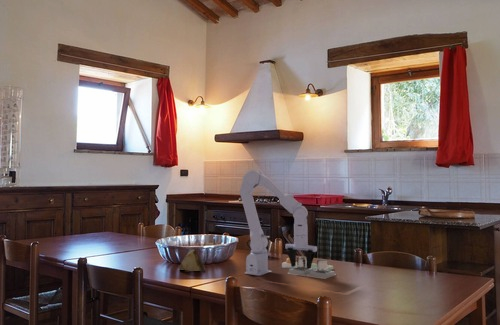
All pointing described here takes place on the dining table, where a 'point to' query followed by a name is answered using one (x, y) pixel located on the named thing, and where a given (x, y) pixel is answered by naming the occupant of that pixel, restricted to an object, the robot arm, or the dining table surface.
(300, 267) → the cylinder
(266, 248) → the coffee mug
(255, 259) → the robot arm
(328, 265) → the tray
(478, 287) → the dining table surface
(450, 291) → the dining table surface
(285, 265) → the button housing
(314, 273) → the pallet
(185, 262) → the rock
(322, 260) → the cylinder
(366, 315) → the dining table surface
